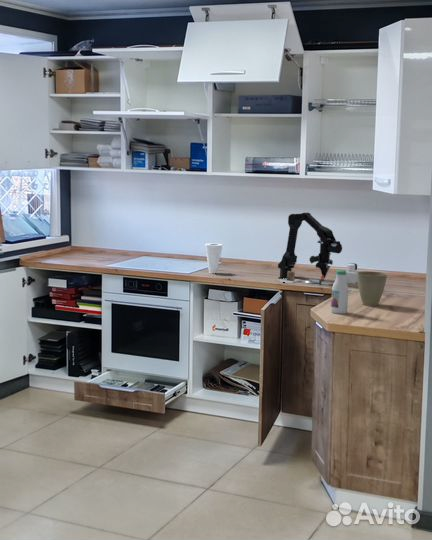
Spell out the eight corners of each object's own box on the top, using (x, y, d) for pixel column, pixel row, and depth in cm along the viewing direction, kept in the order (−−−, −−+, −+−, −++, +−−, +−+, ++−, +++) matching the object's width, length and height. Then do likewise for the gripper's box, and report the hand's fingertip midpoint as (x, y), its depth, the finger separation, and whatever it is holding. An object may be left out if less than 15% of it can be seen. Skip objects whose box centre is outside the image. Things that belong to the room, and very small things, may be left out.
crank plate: (296, 284, 448) (296, 277, 447) (310, 281, 458) (310, 275, 458) (319, 287, 438) (319, 280, 437) (333, 285, 448) (333, 278, 447)
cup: (201, 272, 482) (202, 243, 479) (217, 271, 486) (218, 243, 484) (208, 275, 472) (209, 245, 470) (224, 274, 477) (225, 245, 474)
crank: (300, 282, 449) (300, 273, 448) (309, 280, 455) (310, 272, 454) (318, 285, 440) (319, 276, 439) (327, 283, 446) (328, 274, 446)
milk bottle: (345, 311, 372) (347, 269, 369) (348, 314, 364) (351, 272, 361) (329, 310, 372) (331, 269, 369) (332, 313, 364) (334, 271, 361)
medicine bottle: (347, 282, 462) (348, 262, 460) (358, 283, 458) (360, 263, 456) (343, 283, 455) (344, 263, 454) (354, 285, 452) (355, 264, 450)
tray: (279, 282, 452) (279, 279, 452) (289, 281, 459) (289, 278, 459) (292, 284, 446) (292, 281, 446) (301, 283, 453) (301, 280, 453)
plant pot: (364, 300, 401) (365, 270, 399) (390, 304, 392) (392, 273, 390) (349, 304, 390) (351, 273, 387) (376, 308, 380) (378, 276, 378)
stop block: (286, 282, 451) (287, 272, 450) (287, 281, 455) (288, 271, 454) (293, 282, 450) (294, 272, 449) (294, 281, 454) (294, 271, 453)
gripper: (314, 248, 455) (313, 275, 457) (307, 252, 437) (306, 279, 439) (333, 250, 451) (332, 276, 453) (326, 253, 433) (325, 281, 436)
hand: (323, 278), depth 445 cm, fingers closed
